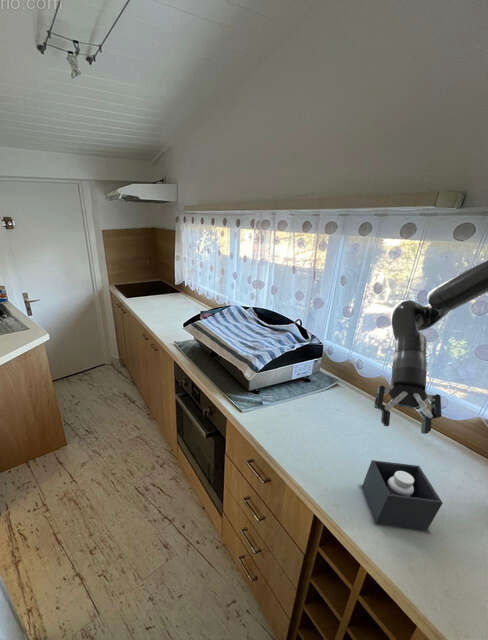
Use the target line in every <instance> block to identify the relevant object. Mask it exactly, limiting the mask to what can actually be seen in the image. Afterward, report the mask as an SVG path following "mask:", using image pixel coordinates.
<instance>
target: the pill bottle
mask: <svg viewBox="0 0 488 640" xmlns="http://www.w3.org/2000/svg"><path fill="white" fill-rule="evenodd" d="M413 483H414V478H413V477H412V476H411V475H410V474H408V473H407V472H404V471H397V472H395V474H394V476H393V477H391V478H389V480H388V482H387V484H386V487H387V489H388V491H389V493H390V494H394V495H401V496H409V497H411V496H412V494H413V492H414V487H413Z"/></svg>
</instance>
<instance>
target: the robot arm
mask: <svg viewBox="0 0 488 640" xmlns="http://www.w3.org/2000/svg"><path fill="white" fill-rule="evenodd" d="M487 293H488V259H487V260H485V261H483V262H481V263H479V264H478V265H476V266H473V267H471V268H468V269H467V270H465V271H463V272H461V273H459V274H457V275H455V276H453V277H452V278H450V279H449V280H447V281H445V282H443V283H442V284H440V285H438V286H436V287H435V288H433V289H431V290H430V291H429V292H428V294H427V298H426V299H427V302H428V304H427V305H423V304H421V303H419V302H416V301H414V300H410V299H404V300H401V301H399V302H398V303H396V305H395V306H394V307H393V308H392V310H391V314H390V323H391V328H392V333H393V337H394V339H395V345H394V346H395V347H394V356H393V359H392V365H391V380H390V388H389V387H386V386H384V385H380V386H379V387H377V388H376V394H375V400H374V408H375V409H376V410H380V412H381V419H380V422H381V424H383V427H389V426H390V421H391V410H392V409H393V408H394V407H395V406H396V405H397V406H398V407H402V408H403V407H405V408H408V409H415V411H416V412H417V413H418V414H420V416H421V418H422V419H421V429H420V432H421V434H423V435H426V434H429V433H430V432H431V431H432V420H433V419H434V420H435V419H438V418H441V417H442V397H441V394H438V393H437V394H427V391H426V389H427V388H426V387H427V374H428V373H427V371H428V360H427V348H428V346H427V345H428V344H427V343H428V341H427V337H426V336H425V335H424V334H423V333H422V332H421V331H425V330H428V329H430V328H431V327H433V326H434V325H436V324H437V323H438V322H439V321H440V320H441V319H443V318H444V317H445V316H447V315H448V314H449V313H450V312H451V311H453V310H456V309H458V308H460V307H462V306H464V305H465V304H467V303H470V302H471V301H473V300H475V299H477V298H479V297H481V296H483V295H485V294H487ZM386 395H389V396H390V398H391V400H389V402H388V403H387V404H384V398H385V396H386ZM426 400H427V402H428V403H429V404H430V410H429V407H428V406H427V404H426V403H425V401H426Z"/></svg>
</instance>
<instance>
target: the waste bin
mask: <svg viewBox="0 0 488 640" xmlns="http://www.w3.org/2000/svg"><path fill="white" fill-rule="evenodd" d="M397 471H404V472H407V473H408V474H410V475H411V476H412V477H413V478H414V483H413V487H414V492H413V494H412V496H411V497H409V496H401V495H394V494H390V493H389V491H388V489H387V487H386V484H387V482H388V480H389V478H391V477H393V476H394V474H395V472H397ZM361 488H362V490H363V494H364V496H365V498H366V501H367V503H368V507H369V510H370V511H371V514H372V516H373V520H374V522H375V524H377V525H385V526H390V527H398V528H405V529H411V530H417V531H423V532H424V531H425V532H427V531H428V530H429V528H430V526H431V525H432V523H433V521H434V519H435V518H436V516H437V514H438V512H439V510H440V508H442V505H443V501H442V499H441V498H440V496H439V495H438V493H437V491H436V490H435V488H434V487H433V484H431V482H430V480H429V479H428V477H427V475H426V474H425V473H424V471H423V469H422V468H421V466H420V465H415V464H408V463H407V464H406V463H400V462H399V463H398V462H391V461H381V460H373V459H372V460H371V461H370V464H369V466H368V468H367V471H366V475H365V477H364V480H363V483H362V485H361Z"/></svg>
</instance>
